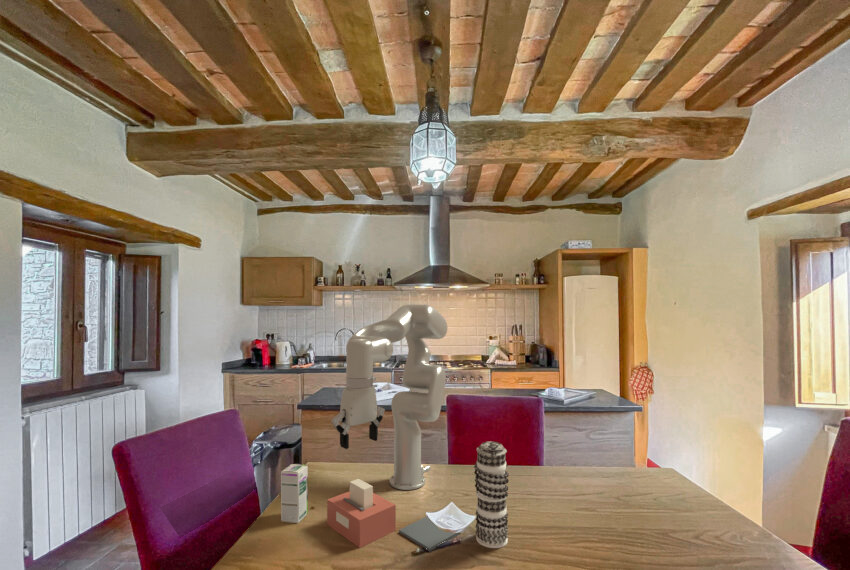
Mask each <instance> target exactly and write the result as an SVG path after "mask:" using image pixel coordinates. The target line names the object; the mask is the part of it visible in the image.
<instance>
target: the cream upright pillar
mask: <svg viewBox="0 0 850 570" xmlns="http://www.w3.org/2000/svg"><path fill="white" fill-rule="evenodd" d="M349 491H350V500H351V501H352V502H354V503H356V504H357V505H359V506H360V507H362V508H364V509H367V508H370V507H372V506H373V493H374V487H373V485H371V484H369V483H367V482H366V481H364V480H362V479H360V478H357V479H354V480H352V481H351V480H350V481H349Z"/></svg>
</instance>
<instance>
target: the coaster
mask: <svg viewBox="0 0 850 570" xmlns="http://www.w3.org/2000/svg"><path fill="white" fill-rule="evenodd" d="M398 533H399V534H401V536H403V537H405V538H407V539H409V540H410V541H412V542H414V543H415V544H417V545H419V546H420V547H422V548H423V547H425V548H427V551H428V552H432V551H433V550H435V549H437V548H436V546H437V545H438V544H440V543H442V542H444V541H447V542H449V541H450V540H453V539H454V538H456V537H457V536H460V534H459V533H451V532H446V531H443V530H441V529H439V528H438V527H437V526H436V525H435V524H434V523H433V522H432V521H431V520H430V519H429V518H428V515H426V516H424V517H422V518H421V519H418V520H416V521H414V522H412V523H410V524H408V525H406V526H403V527H402V528H400V529H398ZM448 540H449V541H448ZM425 548H424V549H425Z"/></svg>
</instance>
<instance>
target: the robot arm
mask: <svg viewBox="0 0 850 570" xmlns="http://www.w3.org/2000/svg"><path fill="white" fill-rule="evenodd" d="M447 332H448V323H447V320H446V318H445V317H444V316H443V315H442V314H441V313H440V311H438V310H437V309H436V308H434V306H431V305H429V304H404V305H402V306H400V307H399V308H398V309H396V310H395V311H393V313H392V314H391V315H389V316H388V318H387V317H386V319H383V320H380V321H377V322H374V323H371V324H369V325H366V326H364V327H362V328H360V329H358V330H357V331H356V332H355V333H353V335H351V336H350V337H349V339H348V340H347V343H346V345H345V352H346V355H345V356H346V359H345V360H346V365H345V366H346V367H345V368H346V369H345V370H346V371H345V372H346V373H345V375H346V377H345V378H346V379H345V388H343V390H342V394H341V400H340V408H339V410H340V411H339V413H338V414H336V415H335V416H334V417H333V418H331V423H332V426H333V427H334V429H335V430H336V431H337V432H338V433H339V445H340V447H341V448H343V449H345V450H348V449H349V446H350V444H349V443H350V441H349V440H350V437H349V433H348V432H349V430H350V429H351V427H354V426H359V425H362V424H363V425H364V424H367V423H370V424H369V428H368V430H369V431H368V432H369V434H368V437H369V440H372V441H374V442H376V441H378V436H379V433H378V431H379V427H380V425H381V424H380V423H381V422H382V420H383V416H384V414H385V411H386V409H385V408H383V407H381V406H379V405H378V401H377V400H378V399H377V393H376V389H375V386H374V382H375V381H376V376H374V363H385V362H386V361H388V360H390V358H391V357H392V355H393V352H394V346H393V343H397V342H400V341H402V340H403V339H404V338H405V340H406V344H407V348H408V349H407V350H408V351H407V356H406V362H405V364H404V370H403V373H402V379H401V380H402V385H403V387H405V388H407V389H409V391H408V390H407V391H406V390H403V391H399V392H397V393H395V394H394V395H393V396H392V399H391V413H392V418H393V437H394V438H393V475H392V476H391V477H389V484H390V486H391V487H393V488H395V489H397V490H400V491H401V490H402V491H410V490H412V491H413V490H417V489H420V488H422V487H423V486H425V484H426V477H425V476H424V475H425V473H427V472H430V471H431V466H430V465H429V464H428V465H425V466H424V465H422V431H421V430H422V429H421V427H420V425H419V423H418V422H424V423H432V422H436V421H437V420H438V419H439V417H440V413H441V409H442V406H443V405H442V404H443V398H444V393H445V388H446V379H447V377H446V376H447V375H446V370H445V369H444V367H443V366H441V365H439V364H434V363H430V361H431V350H430V348H429V346H428V345H427V343H426V342H425V339H426V340H428V339H429V340H430V339H431V340H440V339H444V337H446V335H447ZM410 390H414V391H410ZM415 390H416V391H415ZM418 391H425V392H418ZM426 392H427V393H426ZM340 423H341V424H340Z"/></svg>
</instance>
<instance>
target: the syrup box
mask: <svg viewBox="0 0 850 570" xmlns="http://www.w3.org/2000/svg"><path fill="white" fill-rule="evenodd" d="M308 467H309V466H308V464H301V463H294V464H293V463H291V464H289V466H287V467H285V468H284V469H283V470H281V471H280V521H281V522H284V523H292V524H300V522H301V521H302V520H303V519H304V518H305V517H306V516H307V515H308V514H309V496H308V494H309V490H308V489H309V481H308V480H309V478H308V477H309V472H308V471H309V468H308Z"/></svg>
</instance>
